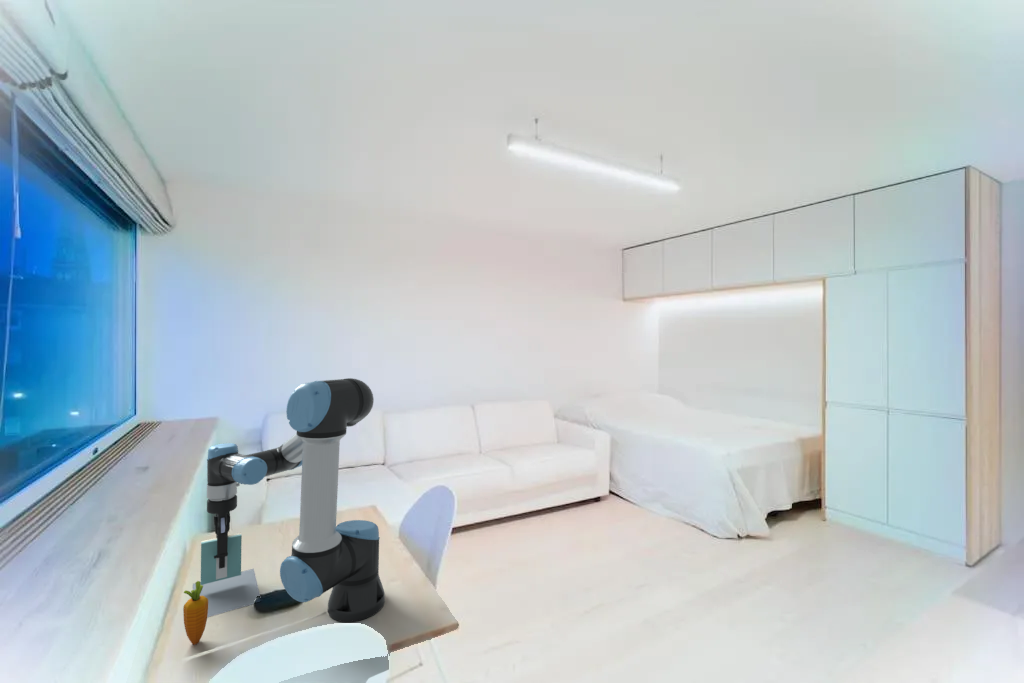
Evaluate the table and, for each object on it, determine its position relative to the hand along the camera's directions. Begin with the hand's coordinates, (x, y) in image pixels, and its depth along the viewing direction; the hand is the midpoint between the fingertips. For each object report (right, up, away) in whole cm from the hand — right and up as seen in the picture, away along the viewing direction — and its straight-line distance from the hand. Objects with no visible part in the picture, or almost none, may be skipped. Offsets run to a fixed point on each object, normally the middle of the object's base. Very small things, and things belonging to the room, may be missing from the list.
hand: (221, 575), depth 132 cm
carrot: (+9, -5, -24) cm, 26 cm away
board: (0, -1, 0) cm, 1 cm away
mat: (+3, -5, -2) cm, 6 cm away
